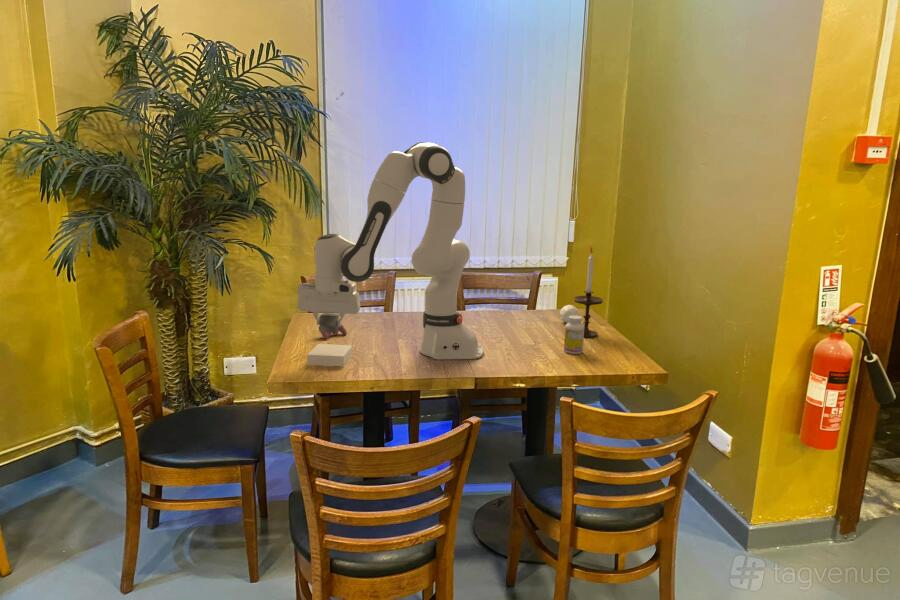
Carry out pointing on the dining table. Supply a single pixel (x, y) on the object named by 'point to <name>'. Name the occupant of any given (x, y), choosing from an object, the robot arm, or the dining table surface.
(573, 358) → the dining table surface
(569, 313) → the geometric ball
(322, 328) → the slate cube
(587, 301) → the candlestick
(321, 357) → the cream block
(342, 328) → the video game controller
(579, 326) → the supplement bottle
